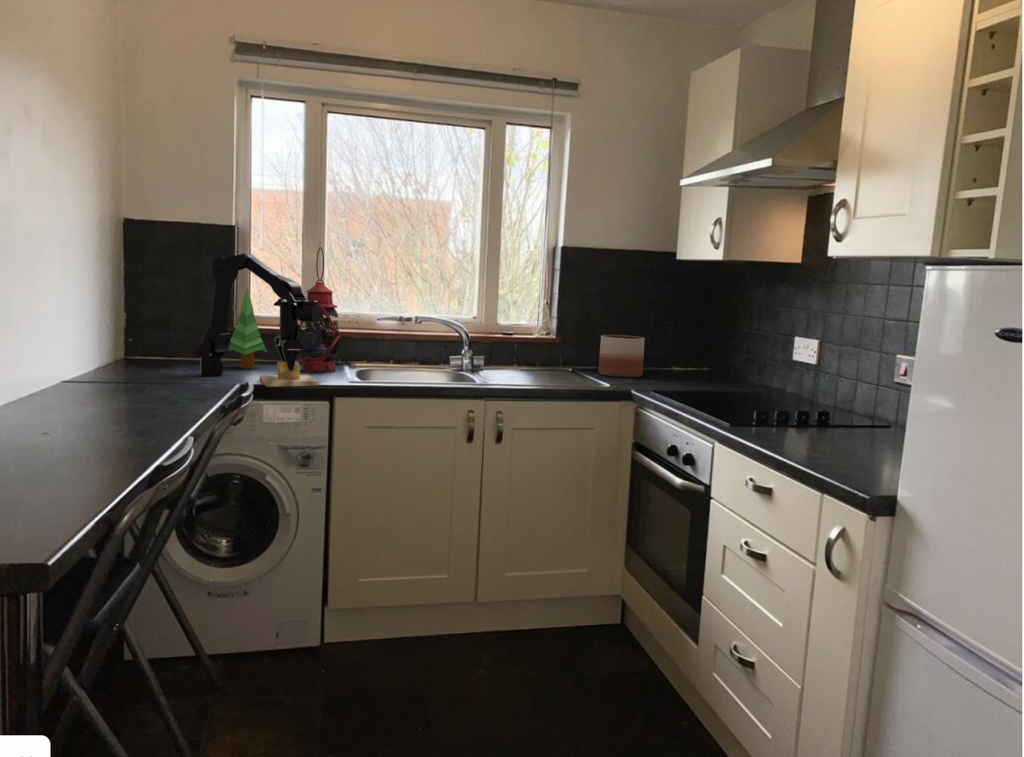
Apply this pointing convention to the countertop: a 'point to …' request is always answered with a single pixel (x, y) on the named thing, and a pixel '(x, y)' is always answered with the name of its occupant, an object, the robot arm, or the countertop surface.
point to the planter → (621, 356)
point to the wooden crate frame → (285, 373)
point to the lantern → (321, 330)
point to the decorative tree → (246, 334)
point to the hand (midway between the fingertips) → (288, 368)
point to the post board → (288, 381)
